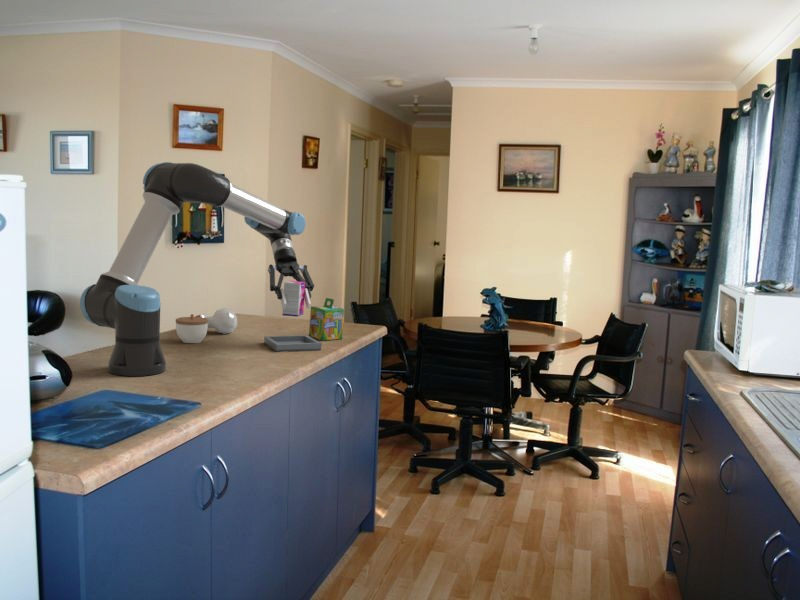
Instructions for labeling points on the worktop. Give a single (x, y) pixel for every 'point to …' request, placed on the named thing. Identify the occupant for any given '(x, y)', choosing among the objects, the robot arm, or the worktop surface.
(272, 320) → the worktop surface
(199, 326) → the lidded jar
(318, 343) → the tray
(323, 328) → the chalk box
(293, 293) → the supplement box
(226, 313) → the potion bottle
